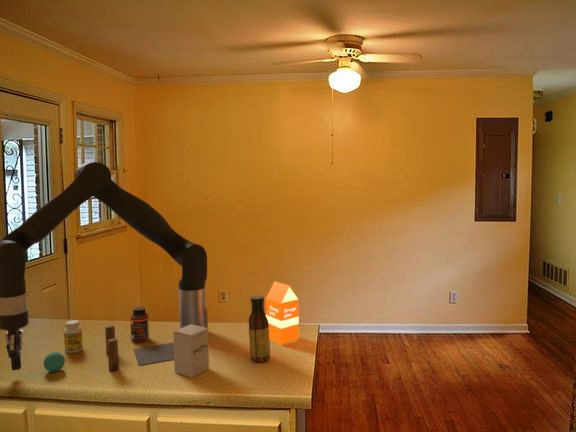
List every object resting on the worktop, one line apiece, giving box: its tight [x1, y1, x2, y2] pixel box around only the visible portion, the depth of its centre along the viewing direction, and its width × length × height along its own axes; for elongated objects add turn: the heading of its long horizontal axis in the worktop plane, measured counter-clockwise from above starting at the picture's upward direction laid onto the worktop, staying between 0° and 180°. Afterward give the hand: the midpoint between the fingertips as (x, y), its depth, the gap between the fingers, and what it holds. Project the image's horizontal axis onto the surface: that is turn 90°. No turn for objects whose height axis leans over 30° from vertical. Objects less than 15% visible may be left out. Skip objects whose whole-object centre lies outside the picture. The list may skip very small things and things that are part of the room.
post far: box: [104, 324, 116, 356], centre depth 148 cm, size 3×3×9 cm
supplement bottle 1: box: [63, 319, 84, 354], centre depth 151 cm, size 5×5×10 cm
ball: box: [43, 351, 66, 373], centre depth 136 cm, size 6×6×6 cm
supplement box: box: [172, 324, 210, 378], centre depth 135 cm, size 7×7×13 cm
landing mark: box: [133, 341, 174, 367], centre depth 148 cm, size 14×14×1 cm
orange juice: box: [265, 280, 300, 346], centre depth 159 cm, size 8×9×20 cm
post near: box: [107, 338, 120, 373], centre depth 136 cm, size 3×3×9 cm
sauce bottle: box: [248, 295, 271, 363], centre depth 142 cm, size 6×6×20 cm
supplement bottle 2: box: [130, 306, 150, 343], centre depth 160 cm, size 6×6×11 cm
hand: (16, 368), depth 132 cm, fingers closed
